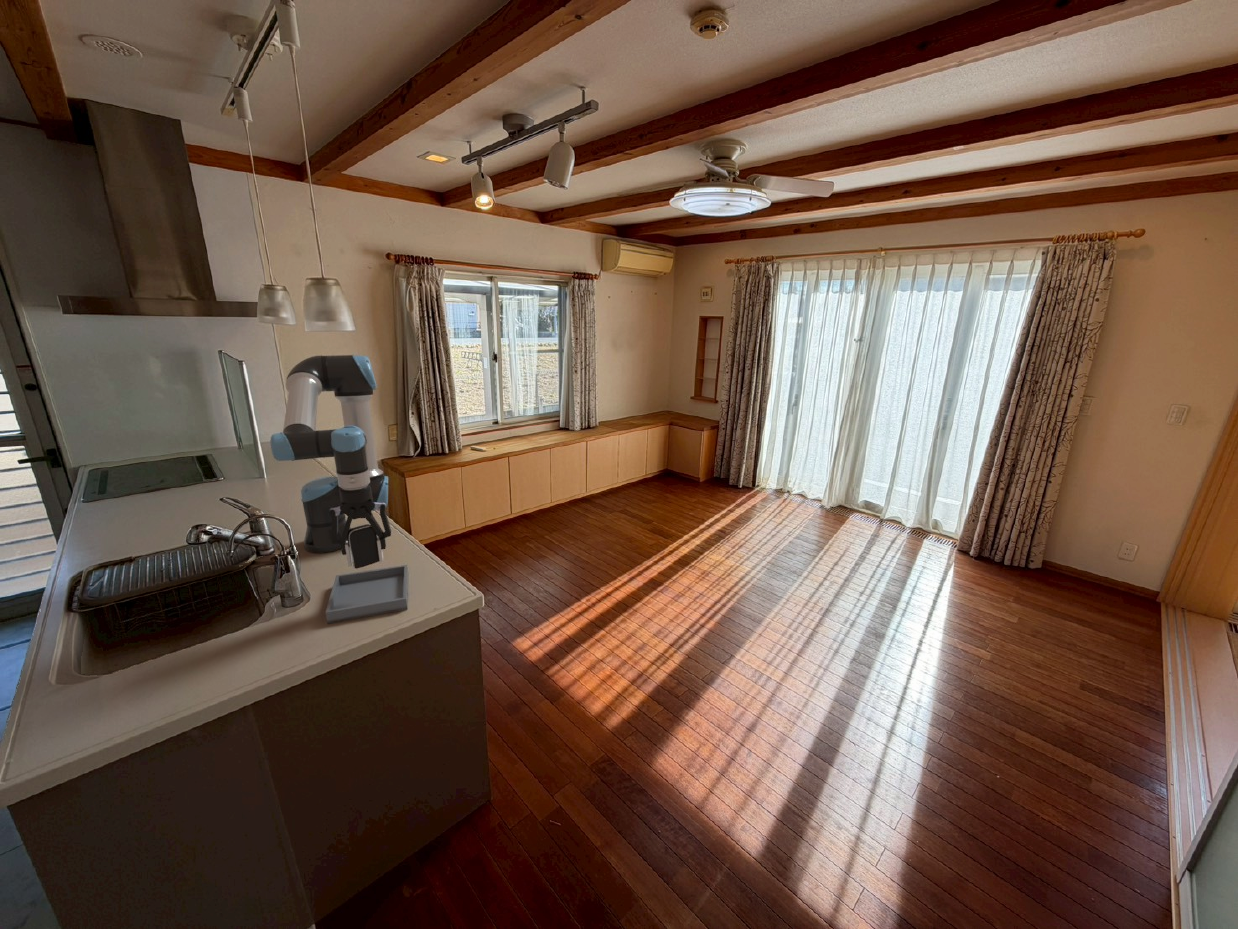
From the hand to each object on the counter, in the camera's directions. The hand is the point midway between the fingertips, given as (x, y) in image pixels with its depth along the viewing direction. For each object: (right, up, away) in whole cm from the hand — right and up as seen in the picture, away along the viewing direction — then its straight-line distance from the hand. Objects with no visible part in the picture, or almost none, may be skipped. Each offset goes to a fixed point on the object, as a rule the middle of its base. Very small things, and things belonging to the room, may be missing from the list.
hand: (366, 561), depth 137 cm
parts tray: (0, -11, +4) cm, 12 cm away
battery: (0, -1, 0) cm, 1 cm away
